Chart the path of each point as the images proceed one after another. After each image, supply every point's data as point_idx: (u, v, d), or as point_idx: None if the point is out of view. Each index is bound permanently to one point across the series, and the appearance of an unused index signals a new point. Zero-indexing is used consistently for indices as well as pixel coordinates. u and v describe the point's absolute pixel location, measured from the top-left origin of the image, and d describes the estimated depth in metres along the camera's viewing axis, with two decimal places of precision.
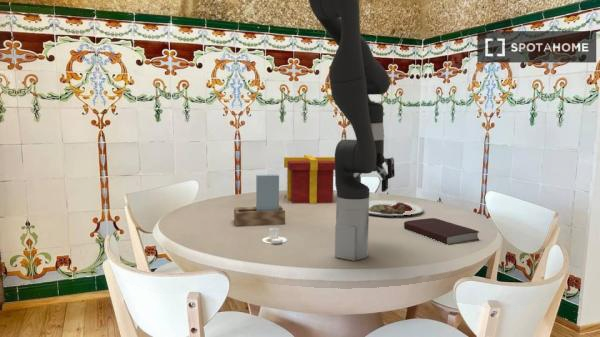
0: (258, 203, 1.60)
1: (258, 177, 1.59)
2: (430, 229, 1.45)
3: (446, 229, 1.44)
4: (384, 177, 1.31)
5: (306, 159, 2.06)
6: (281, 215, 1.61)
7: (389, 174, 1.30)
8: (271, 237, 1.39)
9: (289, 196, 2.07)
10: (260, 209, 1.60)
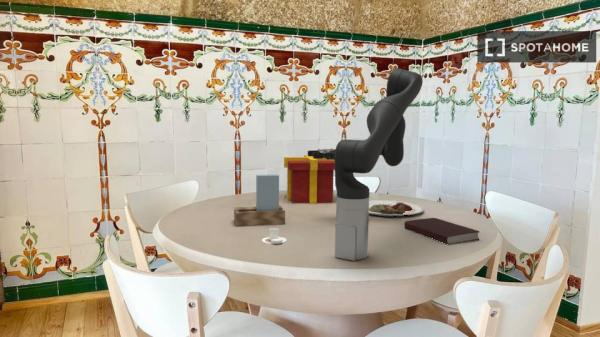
0: (258, 203, 1.60)
1: (258, 177, 1.59)
2: (430, 229, 1.45)
3: (446, 229, 1.44)
4: (325, 152, 1.60)
5: (306, 159, 2.06)
6: (281, 215, 1.61)
7: (329, 152, 1.58)
8: (271, 237, 1.39)
9: (289, 196, 2.07)
10: (260, 209, 1.60)
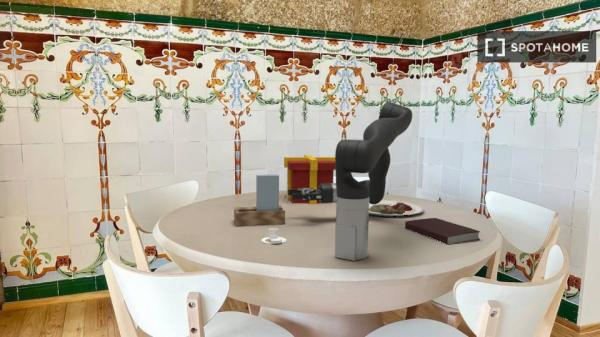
0: (258, 203, 1.60)
1: (258, 177, 1.59)
2: (431, 229, 1.45)
3: (447, 229, 1.45)
4: (304, 193, 1.60)
5: (306, 159, 2.06)
6: (281, 215, 1.61)
7: (308, 193, 1.59)
8: (270, 237, 1.39)
9: (289, 196, 2.07)
10: (260, 209, 1.60)
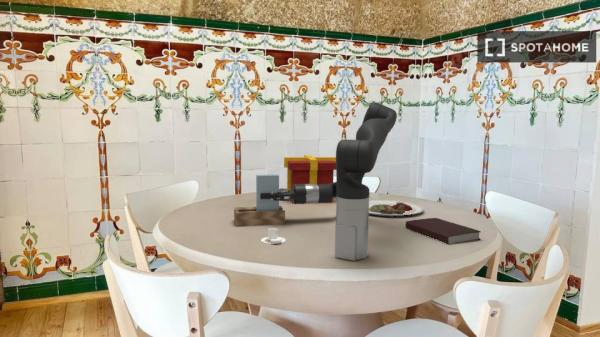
0: (258, 203, 1.60)
1: (258, 177, 1.59)
2: (431, 229, 1.46)
3: (447, 229, 1.45)
4: None
5: (306, 159, 2.06)
6: (281, 215, 1.61)
7: (276, 193, 1.58)
8: (270, 237, 1.39)
9: None
10: (260, 209, 1.60)
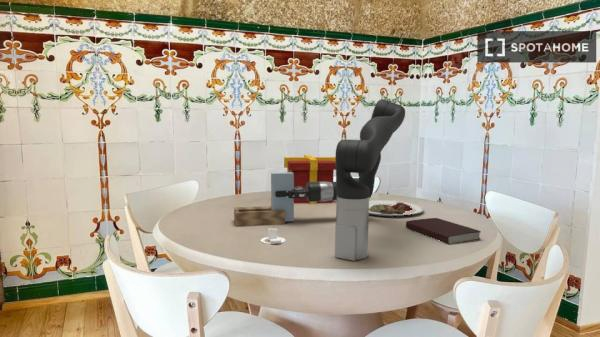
0: (273, 201, 1.61)
1: (273, 175, 1.60)
2: (432, 229, 1.46)
3: (448, 229, 1.45)
4: (288, 190, 1.61)
5: (306, 159, 2.06)
6: (281, 215, 1.61)
7: (291, 191, 1.59)
8: (270, 237, 1.39)
9: None
10: (275, 207, 1.61)
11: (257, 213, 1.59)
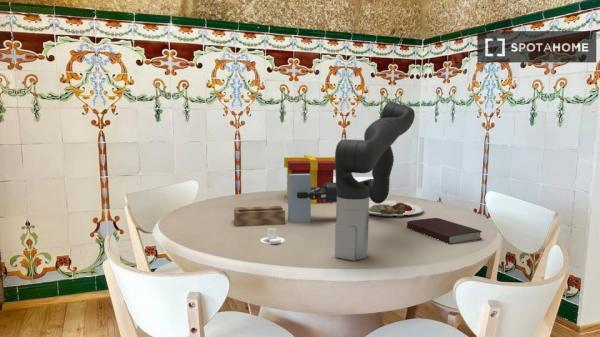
0: (290, 202, 1.63)
1: (291, 176, 1.61)
2: (433, 229, 1.46)
3: (449, 229, 1.45)
4: (309, 192, 1.60)
5: (306, 159, 2.06)
6: (281, 215, 1.61)
7: (313, 192, 1.59)
8: (269, 237, 1.39)
9: None
10: (292, 208, 1.63)
11: (257, 213, 1.59)
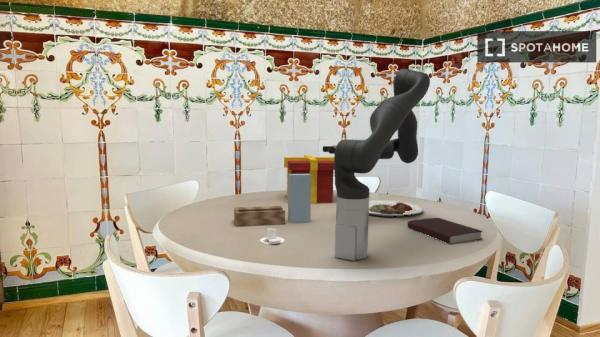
0: (290, 202, 1.63)
1: (291, 176, 1.61)
2: (433, 229, 1.46)
3: (449, 229, 1.45)
4: None
5: (306, 159, 2.06)
6: (281, 215, 1.61)
7: None
8: (269, 237, 1.39)
9: None
10: (292, 208, 1.63)
11: (257, 213, 1.59)
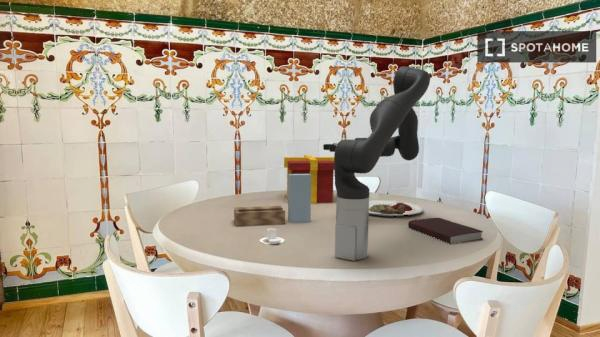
0: (290, 202, 1.63)
1: (291, 176, 1.61)
2: (434, 229, 1.46)
3: (450, 229, 1.45)
4: None
5: (306, 159, 2.06)
6: (281, 215, 1.61)
7: None
8: (269, 237, 1.39)
9: None
10: (292, 208, 1.63)
11: (257, 213, 1.59)
